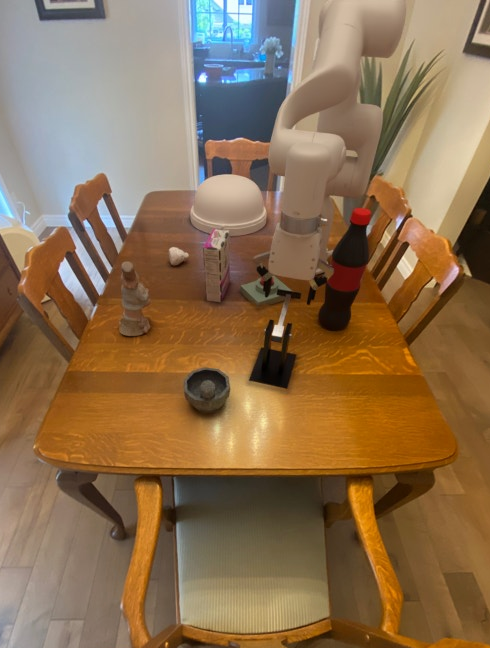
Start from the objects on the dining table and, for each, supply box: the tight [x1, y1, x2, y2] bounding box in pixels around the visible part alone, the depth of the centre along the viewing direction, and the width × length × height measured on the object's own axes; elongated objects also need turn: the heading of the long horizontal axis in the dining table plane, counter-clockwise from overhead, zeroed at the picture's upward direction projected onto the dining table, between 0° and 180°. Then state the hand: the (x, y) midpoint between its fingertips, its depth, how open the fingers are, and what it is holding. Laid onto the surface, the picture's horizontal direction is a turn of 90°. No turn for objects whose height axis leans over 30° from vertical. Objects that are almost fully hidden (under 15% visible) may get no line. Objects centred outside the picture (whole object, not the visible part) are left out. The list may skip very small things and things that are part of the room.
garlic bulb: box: [168, 246, 190, 267], centre depth 118 cm, size 6×6×5 cm
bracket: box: [248, 319, 298, 390], centre depth 83 cm, size 12×9×13 cm
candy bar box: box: [202, 229, 231, 304], centre depth 103 cm, size 11×5×16 cm, turn 168°
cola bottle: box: [317, 207, 372, 332], centre depth 88 cm, size 8×8×30 cm
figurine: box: [118, 260, 152, 337], centre depth 90 cm, size 9×8×20 cm
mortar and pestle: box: [183, 366, 231, 414], centre depth 75 cm, size 11×9×12 cm
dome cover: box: [190, 173, 268, 237], centre depth 138 cm, size 32×30×14 cm
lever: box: [272, 289, 303, 344], centre depth 81 cm, size 13×6×2 cm, turn 164°
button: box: [260, 277, 274, 286], centre depth 105 cm, size 4×4×2 cm
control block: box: [239, 275, 293, 307], centre depth 107 cm, size 12×10×4 cm
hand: (288, 297), depth 83 cm, fingers open, 9 cm apart
